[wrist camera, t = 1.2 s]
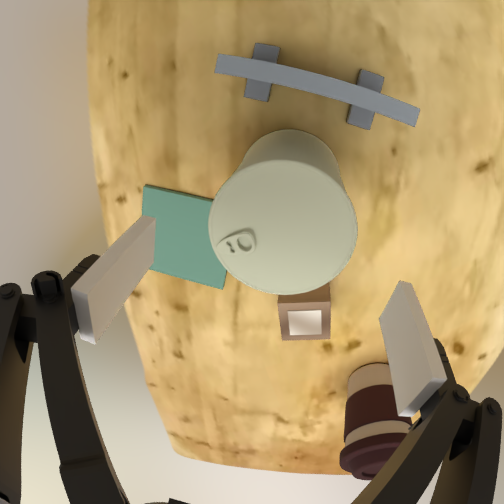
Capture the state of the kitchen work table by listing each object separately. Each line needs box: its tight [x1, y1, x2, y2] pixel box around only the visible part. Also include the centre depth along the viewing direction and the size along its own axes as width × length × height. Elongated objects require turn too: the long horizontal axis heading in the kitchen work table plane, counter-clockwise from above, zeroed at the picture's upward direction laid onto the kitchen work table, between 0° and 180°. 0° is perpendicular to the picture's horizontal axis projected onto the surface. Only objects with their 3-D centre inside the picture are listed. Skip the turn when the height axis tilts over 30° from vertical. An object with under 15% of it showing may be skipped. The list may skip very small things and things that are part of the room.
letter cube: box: [278, 282, 331, 340], centre depth 33 cm, size 5×5×5 cm
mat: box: [142, 185, 227, 290], centre depth 34 cm, size 10×10×1 cm
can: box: [208, 129, 358, 295], centre depth 24 cm, size 9×9×12 cm
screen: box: [215, 43, 420, 130], centre depth 20 cm, size 5×12×10 cm, turn 79°
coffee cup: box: [340, 363, 412, 480], centre depth 35 cm, size 10×10×15 cm
